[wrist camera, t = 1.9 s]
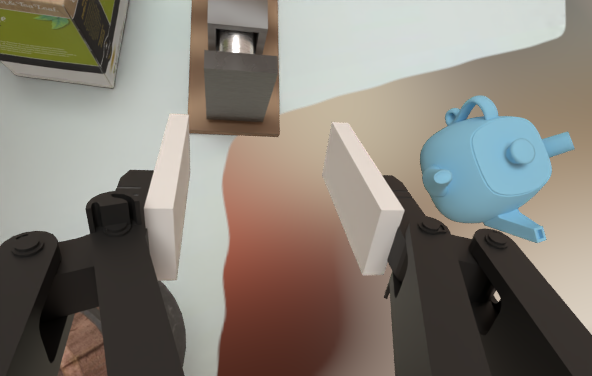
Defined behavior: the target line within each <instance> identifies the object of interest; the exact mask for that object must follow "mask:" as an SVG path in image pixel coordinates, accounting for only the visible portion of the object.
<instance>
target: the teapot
mask: <svg viewBox="0 0 592 376" xmlns="http://www.w3.org/2000/svg"><path fill="white" fill-rule="evenodd" d="M476 104H477V105H478V106H479V107H480V108H481V110H482V111H483V114H484V116H483V117H475V118H470V119H467V117H468V115H469V114H470V112H471V110H472V109H473V107H474V106H475V105H476ZM445 120H446V124H447V125H448V126H447V127H445V128H443V129H442V130H440V131H438V132H437V133H435V134H434V135H433V136H431V137H430V138H429V139H428V140H427V141H426V143H425V144H424V146H423V148H422V150H421V154H420V164H421V170H422V174H423V177H422V179H423V184H424V187H425V188H426V190H427V191H428V193H429V194H430V196H431V198H432V201H433V202H434V204H435V206H436V208H437V209H438V210H439V211H440V212H441V213H442V214H443V215H444V216H445V217H447V218H448V219H450V220H453V221H456V222H462V223H481V222H483V223H484V225H485V226H488V227H491V228H494V229H497V230H500V231H503V232H506V233H509V234H512V235H515V236H518V237H520V238H524V239H527V240H529V241H532V242H535V243H538V242H542V241H545V240H546V237H545V233H544V229H543V226H540V225H538V224H536V223H535V222H534V221H532V220H531V219H529V218H528V217H526V216H525V215H523V214H522V213H520V212H519V210H518V208H519V207H521V206H522V205H524V204H525V203H526V202H528V201H529V200H530V199H531V198H532V197H533V196H534V195H536V194H537V192H538V191H539V190H540V189H541V188H542V187H543V186H544V185H545V184H546V183H547V181H548V180H549V178H550V176H551V173H552V167H551V163H550V159H549V158H550V157H553V156H555V155H559V154H561V153H565V152H567V151H571V150H573V149H574V146H573V143H572V140H571V138H570V135H569V133H568V132H565V133H561V134H558V135H555V136H551V137H548V138H545V139H541V137H540V135H539V133H538V131H537V129H536V128H535V126H534V125H533V124H532V123H531V122H529V121H528V120H526V119H524V118H519V117H512V116H498V112H497V109H496V106H495V105H494V103H493V102H492V101H491V100H490V99H489V98H487V97H485V96H474V97H472V98H470V99H469V100H467V101H466V102H465V103H464V105H463V106H462V108H461V109H457V108H452V109H450V110H449V111H448V112H447V113H446V116H445Z"/></svg>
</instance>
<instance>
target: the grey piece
mask: <svg viewBox="0 0 592 376" xmlns="http://www.w3.org/2000/svg"><path fill="white" fill-rule="evenodd" d="M277 76H278V56H271V55H259V54H253V32H246V31H236V30H225V29H220V40H219V51H211V50H204V80H205V99H206V119H208V120H228V121H248V122H263V120H264V117H265V114H266V111H267V107H268V104H269V101H270V98H271V95H272V92H273V88H274V85H275V82H276V79H277Z"/></svg>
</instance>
